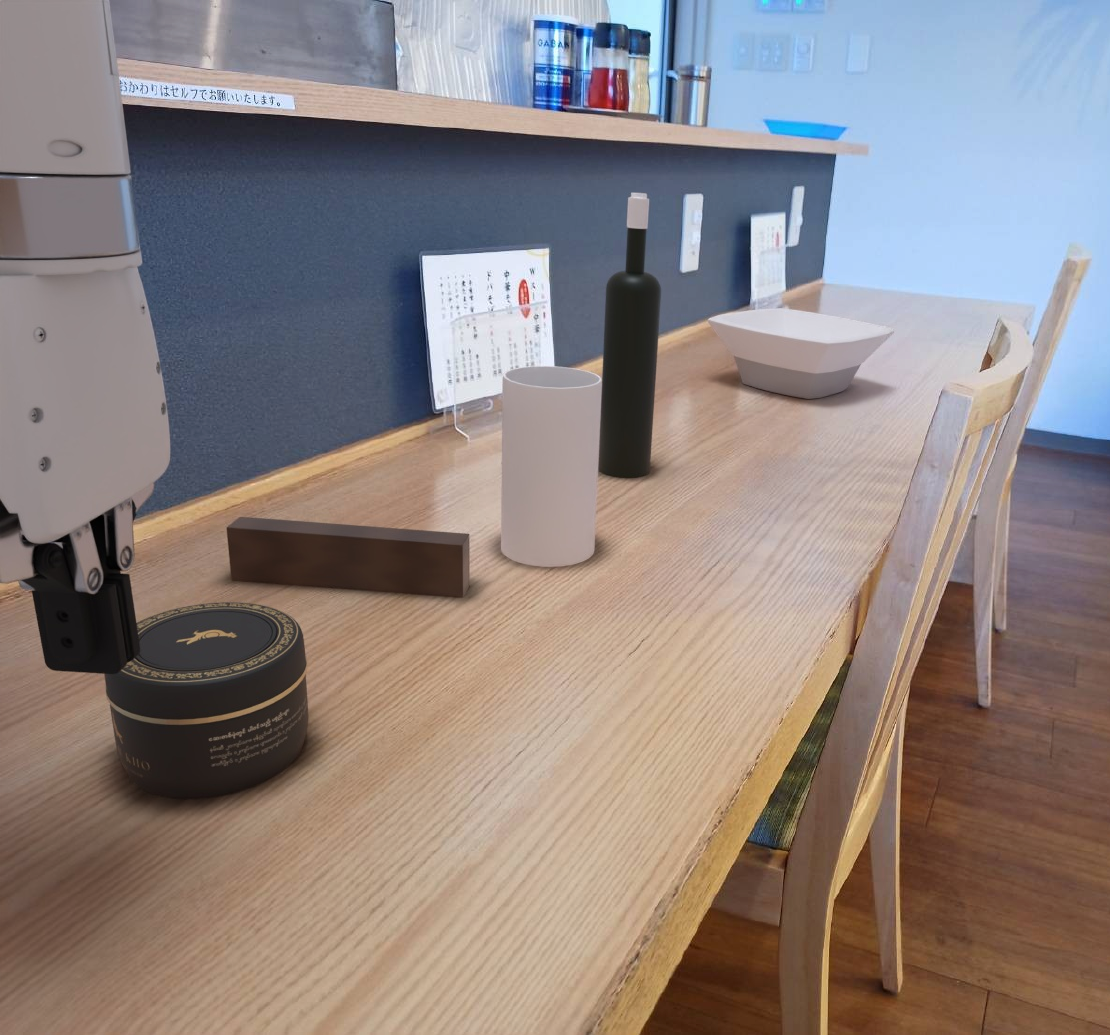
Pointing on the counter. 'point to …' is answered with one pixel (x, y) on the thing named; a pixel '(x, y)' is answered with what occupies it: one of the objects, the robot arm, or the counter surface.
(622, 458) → the wine bottle
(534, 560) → the cup
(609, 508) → the counter surface
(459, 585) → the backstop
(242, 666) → the jar
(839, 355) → the bowl
